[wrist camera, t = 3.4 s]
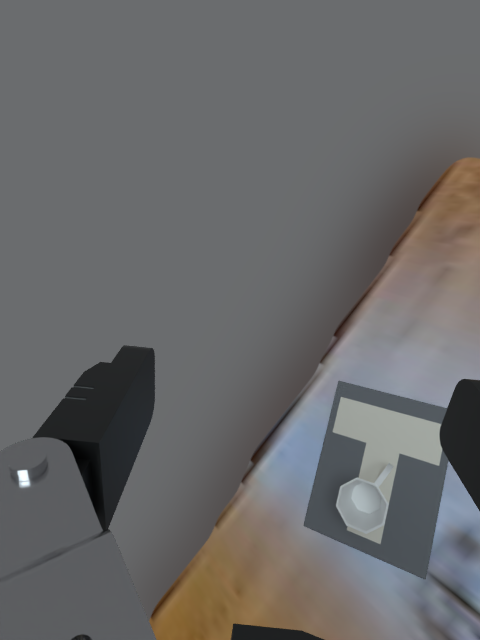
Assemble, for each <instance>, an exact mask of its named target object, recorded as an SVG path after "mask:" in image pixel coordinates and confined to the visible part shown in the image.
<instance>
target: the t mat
mask: <svg viewBox="0 0 480 640" xmlns="http://www.w3.org/2000/svg"><path fill="white" fill-rule="evenodd" d="M446 411H447V408H443V407H439V406H435V405H431V404H427V403H423V402H420V401H416V400H412V399H408V398H404V397H400V396H396V395H392V394H388V393H384V392H380V391H376V390H373V389H369V388H365V387H361V386H357V385H353V384H349V383H345V382H341V381H338V386H337V390H336V394H335V398H334V402H333V406H332V410H331V414H330V419H329V423H328V427H327V431H326V435H325V439H324V443H323V447H322V452H321V456H320V460H319V464H318V468H317V472H316V476H315V480H314V485H313V489H312V493H311V497H310V501H309V505H308V509H307V513H306V518H305V522H304V526H305V527H308V528H310V529H312V530H314V531H317V532H319V533H321V534H323V535H326V536H328V537H330V538H332V539H335V540H337V541H339V542H341V543H344V544H346V545H348V546H350V547H353V548H355V549H357V550H360V551H362V552H364V553H366V554H369V555H371V556H373V557H375V558H378V559H380V560H382V561H384V562H387V563H389V564H391V565H393V566H396V567H398V568H400V569H403V570H405V571H407V572H409V573H412V574H414V575H416V576H418V577H421V578H423V579H426V574H427V569H428V564H429V558H430V553H431V548H432V543H433V537H434V532H435V527H436V522H437V516H438V511H439V506H440V501H441V495H442V490H443V485H444V480H445V474H446V469H447V464H448V458H447V457H446V455H445V453H444V452H443V450H442V447H441V444H440V437H439V433H440V427H441V424H442V421H443V419H444V416H445V413H446ZM389 463H390V464H391V465H392V466H394V467H393V468H392V470H391V471H390V473H389V474H388V475H387V477H386V478H385V480H384V481H383V482H382V484H381V485H380V486H379V489H380V490H381V492H382V494H383V496H384V497H385V499H386V501H387V502H388V504H389V505H388V510H387V515H386V520H385V525H384V526H382V527H380V528H378V529H376V530H374V531H372V532H370V533H367V534H365V533H363V532H360V531H358V530H356V529H353V528H351V527H348V526H346V524H345V522H344V520H343V518H342V517H341V515H340V513H339V511H338V509H337V507H336V503H337V498H338V494H339V489H340V486H342V485H343V484H345V483H347V482H349V481H351V480H353V479H355V478H360V479H363V480H366V481H369V482H371V483H374V482H375V481H376V480H377V478H378V477H379V476H380V474H381V473H382V472H383V470H384V469H385V468H386V466H387V465H388V464H389Z"/></svg>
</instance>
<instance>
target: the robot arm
mask: <svg viewBox="0 0 480 640" xmlns="http://www.w3.org/2000/svg"><path fill="white" fill-rule="evenodd" d="M154 402H155V356H154V350H153V348H145V347H136V346H123V347H122V348H121V350H120V351H119V352H118V354H117V355H116V357H115V358H114V360H113V361H112V363H104V362H100V363H98V364H97V365H95V366H93V367H92V368H90V369H88V370H87V371H85V372H84V373H83V374H82V375H81V377H80V378H79V379H78V380H77V382H76V383H75V384H74V387H73V388H71V389H70V391H69V392H68V393H67V394H66V396H65V399H63V400H62V401H61V402H60V403H59V405H58V406H57V407H56V408H55V410H54V411H53V412H52V414H51V415H50V416H49V417H48V419H47V420H46V421H45V423H44V424H43V425H42V426H41V427H40V429H39V430H38V431H37V433H36V434H35V435H34V436H33V438H31V439H27V440H23V441H20V442H17V443H15V444H12V445H10V446H8V447H6V448H5V449H3V450H1V451H0V640H156V638H155V635H154V633H153V630H152V628H151V625H150V623H149V621H148V618H147V616H146V613H145V611H144V608H143V606H142V604H141V601H140V599H139V596H138V594H137V591H136V589H135V586H134V584H133V581H132V579H131V577H130V574H129V572H128V569H127V567H126V564H125V562H124V560H123V557H122V555H121V552H120V550H119V547H118V545H117V543H116V540H115V538H114V536H113V534H112V533H111V532H110V530H108V527H109V525H110V522H111V520H112V517H113V515H114V512H115V510H116V507H117V505H118V502H119V500H120V497H121V495H122V492H123V490H124V487H125V485H126V482H127V480H128V477H129V475H130V472H131V470H132V467H133V465H134V462H135V460H136V457H137V454H138V452H139V450H140V447H141V445H142V442H143V439H144V437H145V435H146V432H147V429H148V427H149V424H150V422H151V418H152V415H153V410H154ZM439 437H440V444H441V447H442V450H443V452H444V453H445V455H446V457H447V458H448V460H449V462H450V463H451V465H452V466H453V468H454V470H455V471H456V473H457V475H458V476H459V478H460V480H461V481H462V483H463V484H464V486H465V488H466V489H467V491H468V493H469V494H470V496H471V498H472V499H473V501H474V503H475V504H476V506H477V507H478V509H479V511H480V380H470V379H462V380H461V381H459V382H458V384H457V385H456V387H455V390H454V392H453V395H452V398H451V400H450V403H449V406H448V408H447V411H446V413H445V416H444V419H443V421H442V424H441V427H440V433H439ZM231 640H324V639H321V638H319V637H316V636H314V635H311V634H309V633H306V632H304V631H299V630H289V629H280V628H270V627H260V626H251V625H241V624H233V629H232V637H231Z"/></svg>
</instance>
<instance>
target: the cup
mask: <svg viewBox="0 0 480 640" xmlns="http://www.w3.org/2000/svg"><path fill="white" fill-rule="evenodd" d="M393 467H394V466H392V465H391V464H390V463H389V464H388V465H387V466H386V468H385V469H384V470H383V472H382V473H381V474H380V476H379V477H378V478H377V480H376V481H375V482H374V483H371V482H369V481H366V480H363V479H360V478H355V479H353V480H351V481H349V482H347V483H345V484H343V485H342V486H340V489H339V494H338V498H337V503H336V507H337V509H338V511H339V513H340V515H341V517H342V518H343V520H344V522H345V524H346V526H348V527H351V528H353V529H356V530H358V531H360V532H363V533H365V534H367V533H370V532H372V531H374V530H376V529H378V528H380V527H382V526H384V525H385V520H386V515H387V510H388V505H389V504H388V502H387V501H386V499H385V497H384V496H383V494H382V492H381V490H380V489H379V486H380V485H381V484H382V482H383V481H384V480H385V478H386V477H387V475H388V474H389V473H390V471H391V470H392V468H393Z"/></svg>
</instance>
